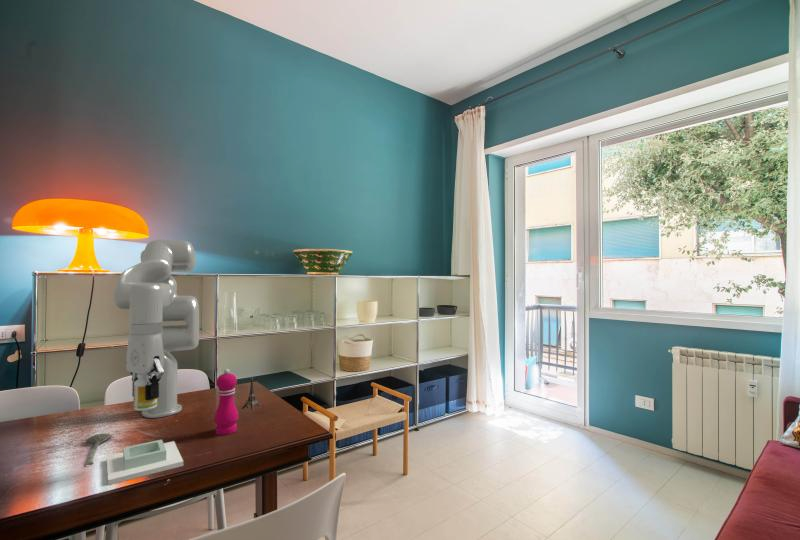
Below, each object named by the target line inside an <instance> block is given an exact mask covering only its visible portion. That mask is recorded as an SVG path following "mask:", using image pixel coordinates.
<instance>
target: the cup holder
mask: <svg viewBox="0 0 800 540" xmlns="http://www.w3.org/2000/svg"><path fill="white" fill-rule="evenodd" d="M180 467H184V458H183V457H182V455H181V453H180V451H179V448H178V447H177V444H176V442H175V440H172V441H168V442H164V441H163V439H157V440H153V441H149V442H143V443H138V444H134V445H130V446H125V447H123V449H122V452H120V453H115V454H110V455H107V456H106V472H107V474H108V475H107V485H108V486H110V485H109V484H111V485H114V483H115V484H119V483H121V482H125V481H129V480H133V479H137V478H141V477H145V476H149V475H153V474H157V473H160V472H161V473H162V472H164V471H168V470H172V469H176V468H180ZM118 482H119V483H118Z"/></svg>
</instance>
